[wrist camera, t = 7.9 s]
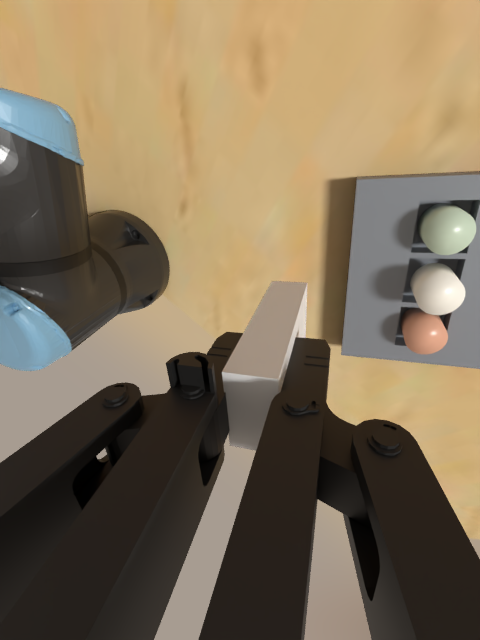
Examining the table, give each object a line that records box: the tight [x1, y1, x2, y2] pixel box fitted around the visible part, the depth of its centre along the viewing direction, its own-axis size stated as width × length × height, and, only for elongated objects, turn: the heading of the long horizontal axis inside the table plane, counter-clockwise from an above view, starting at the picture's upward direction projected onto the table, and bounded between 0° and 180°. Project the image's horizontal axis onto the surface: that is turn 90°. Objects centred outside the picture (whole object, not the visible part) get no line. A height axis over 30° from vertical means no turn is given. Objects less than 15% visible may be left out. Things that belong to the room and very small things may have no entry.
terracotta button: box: [400, 307, 448, 354], centre depth 40 cm, size 4×4×4 cm
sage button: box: [417, 203, 476, 255], centre depth 34 cm, size 4×4×4 cm
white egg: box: [410, 263, 465, 315], centre depth 35 cm, size 4×4×4 cm
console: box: [341, 171, 480, 369], centre depth 38 cm, size 18×22×3 cm
